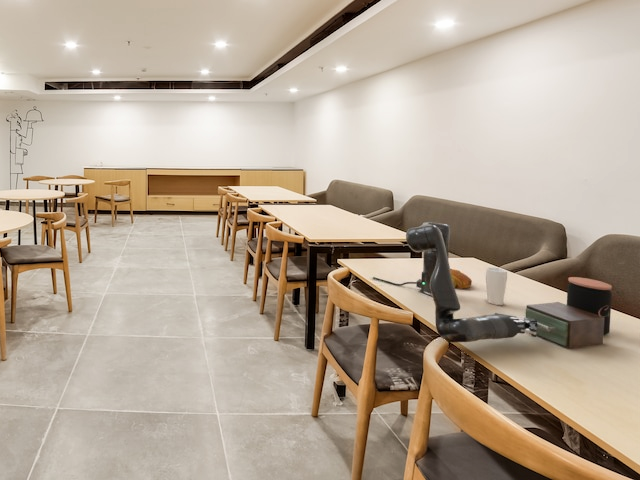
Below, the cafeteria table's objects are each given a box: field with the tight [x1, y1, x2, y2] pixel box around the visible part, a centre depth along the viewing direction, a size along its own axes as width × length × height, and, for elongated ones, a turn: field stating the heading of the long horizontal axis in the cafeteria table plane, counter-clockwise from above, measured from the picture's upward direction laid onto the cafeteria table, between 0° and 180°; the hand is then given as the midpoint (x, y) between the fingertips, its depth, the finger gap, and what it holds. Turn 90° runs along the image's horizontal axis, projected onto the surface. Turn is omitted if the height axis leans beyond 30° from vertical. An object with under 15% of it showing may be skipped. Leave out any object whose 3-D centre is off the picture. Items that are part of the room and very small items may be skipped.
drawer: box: [523, 308, 568, 347], centre depth 129 cm, size 19×11×8 cm, turn 101°
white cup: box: [485, 266, 508, 306], centre depth 158 cm, size 7×7×15 cm
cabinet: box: [525, 301, 605, 350], centre depth 130 cm, size 16×13×10 cm
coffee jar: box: [566, 276, 613, 336], centre depth 136 cm, size 11×11×18 cm
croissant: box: [450, 268, 473, 290], centre depth 180 cm, size 14×16×8 cm
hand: (534, 322), depth 127 cm, fingers closed
